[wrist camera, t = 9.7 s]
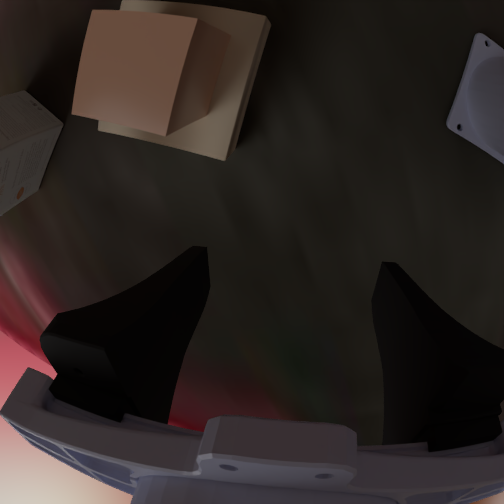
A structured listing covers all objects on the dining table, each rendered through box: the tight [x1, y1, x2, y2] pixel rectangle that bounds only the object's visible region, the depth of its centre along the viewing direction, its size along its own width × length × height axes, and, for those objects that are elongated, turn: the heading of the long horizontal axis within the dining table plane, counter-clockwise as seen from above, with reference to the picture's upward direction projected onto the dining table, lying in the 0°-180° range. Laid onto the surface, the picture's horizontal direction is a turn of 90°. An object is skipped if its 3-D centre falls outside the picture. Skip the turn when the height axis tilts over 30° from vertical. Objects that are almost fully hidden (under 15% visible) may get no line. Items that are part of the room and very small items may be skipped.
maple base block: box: [98, 0, 271, 161], centre depth 17 cm, size 9×9×4 cm
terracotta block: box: [72, 10, 231, 137], centre depth 13 cm, size 5×5×6 cm
